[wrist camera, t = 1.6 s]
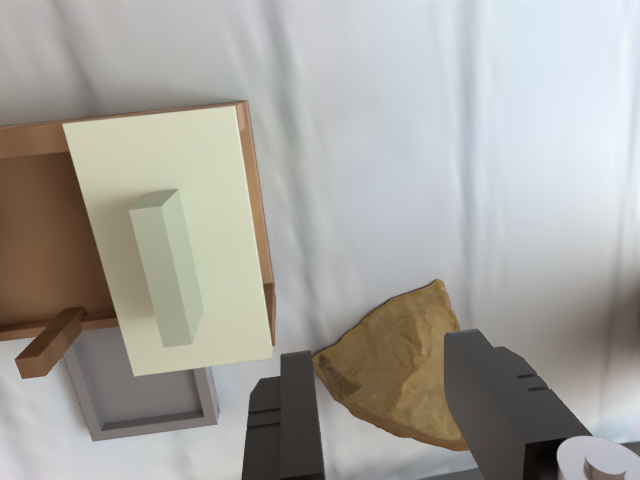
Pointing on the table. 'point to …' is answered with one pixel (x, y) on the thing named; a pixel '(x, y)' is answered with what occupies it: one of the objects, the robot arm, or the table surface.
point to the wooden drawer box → (73, 241)
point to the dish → (135, 390)
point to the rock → (397, 368)
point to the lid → (175, 236)
